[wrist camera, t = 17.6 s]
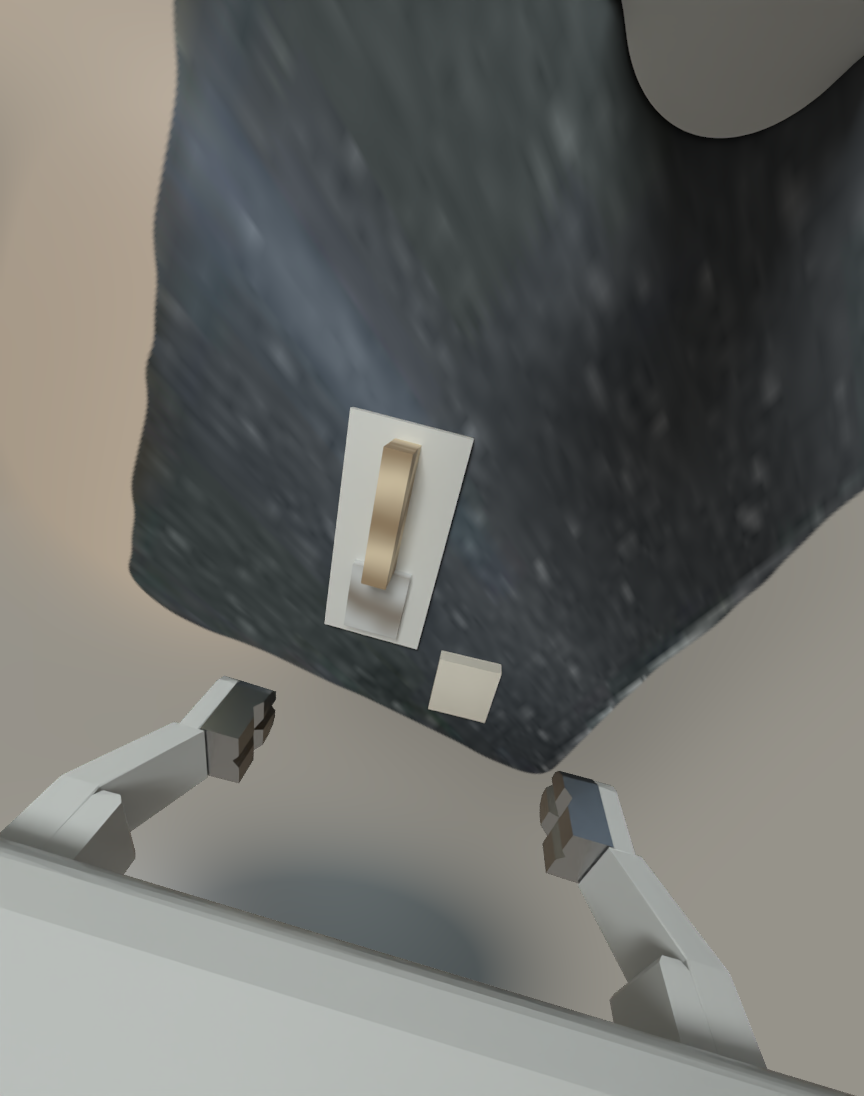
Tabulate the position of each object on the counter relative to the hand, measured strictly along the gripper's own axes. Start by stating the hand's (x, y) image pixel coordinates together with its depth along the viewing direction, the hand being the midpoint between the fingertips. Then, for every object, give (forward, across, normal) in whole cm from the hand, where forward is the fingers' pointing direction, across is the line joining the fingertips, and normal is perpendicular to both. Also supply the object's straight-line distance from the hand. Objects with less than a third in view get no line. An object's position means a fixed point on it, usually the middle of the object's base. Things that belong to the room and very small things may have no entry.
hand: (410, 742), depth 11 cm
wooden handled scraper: (+26, +6, +8) cm, 28 cm away
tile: (+26, -6, +20) cm, 34 cm away
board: (+27, +6, +8) cm, 29 cm away
